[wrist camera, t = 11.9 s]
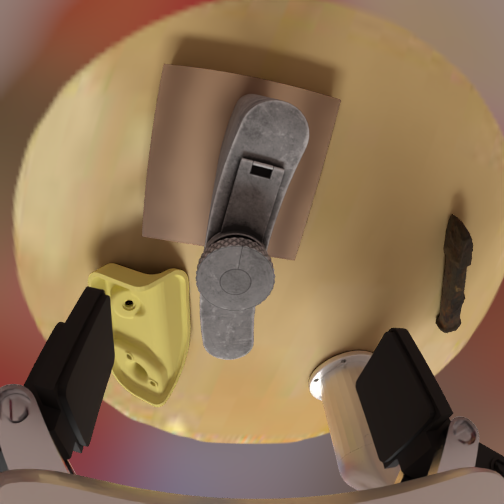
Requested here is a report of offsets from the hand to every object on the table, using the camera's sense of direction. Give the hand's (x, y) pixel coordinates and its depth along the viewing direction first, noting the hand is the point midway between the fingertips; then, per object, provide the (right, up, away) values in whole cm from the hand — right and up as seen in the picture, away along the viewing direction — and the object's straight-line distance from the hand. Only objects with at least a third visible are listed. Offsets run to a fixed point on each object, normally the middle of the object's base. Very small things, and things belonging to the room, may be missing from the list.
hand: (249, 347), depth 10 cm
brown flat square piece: (-2, +12, +21) cm, 24 cm away
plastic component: (-15, -6, +31) cm, 35 cm away
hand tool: (+28, 0, +30) cm, 41 cm away
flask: (-2, +11, +19) cm, 22 cm away
